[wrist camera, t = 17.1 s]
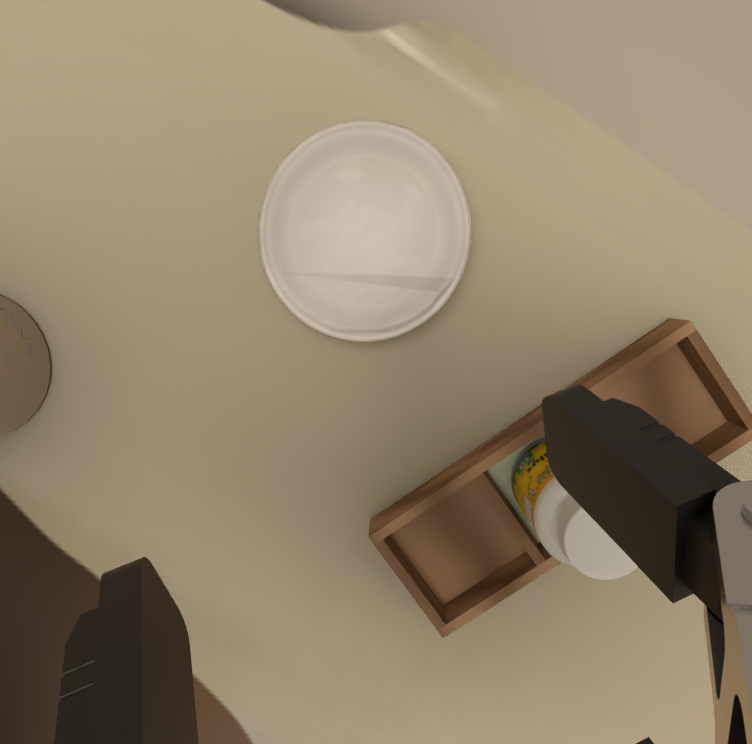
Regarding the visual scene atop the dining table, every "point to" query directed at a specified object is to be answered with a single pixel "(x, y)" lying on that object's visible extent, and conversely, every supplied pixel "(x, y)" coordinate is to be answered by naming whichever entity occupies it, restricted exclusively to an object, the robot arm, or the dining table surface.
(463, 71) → the dining table surface
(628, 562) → the supplement bottle
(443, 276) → the ramekin
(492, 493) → the wooden compartment tray
